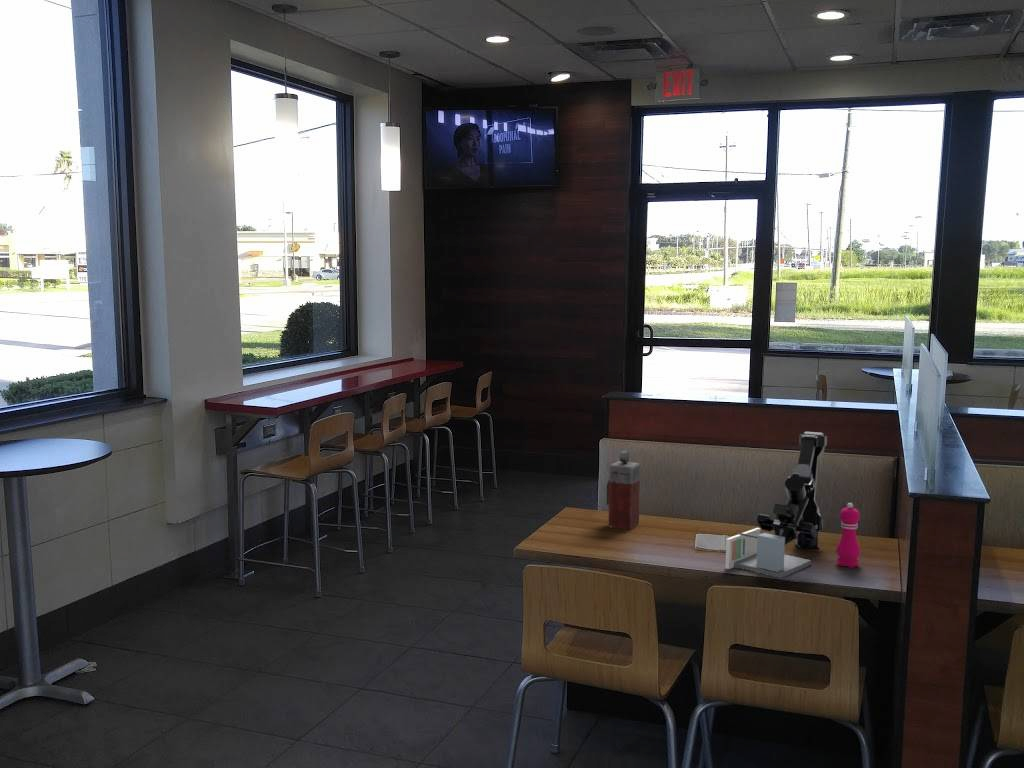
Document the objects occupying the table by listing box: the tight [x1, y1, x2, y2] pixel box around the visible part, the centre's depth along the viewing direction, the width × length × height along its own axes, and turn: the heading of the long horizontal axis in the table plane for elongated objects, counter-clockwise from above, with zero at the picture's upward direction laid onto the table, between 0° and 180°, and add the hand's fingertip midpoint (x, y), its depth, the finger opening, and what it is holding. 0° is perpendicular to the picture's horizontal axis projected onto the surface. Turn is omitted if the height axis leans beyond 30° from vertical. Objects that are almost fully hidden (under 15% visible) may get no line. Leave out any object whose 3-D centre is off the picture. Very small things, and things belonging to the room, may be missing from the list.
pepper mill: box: [835, 502, 862, 568], centre depth 284 cm, size 7×7×20 cm
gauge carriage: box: [738, 532, 786, 572], centre depth 278 cm, size 5×14×10 cm, turn 45°
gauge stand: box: [725, 527, 812, 579], centre depth 282 cm, size 22×17×10 cm
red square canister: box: [606, 450, 641, 530], centre depth 332 cm, size 9×11×28 cm
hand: (776, 549), depth 277 cm, fingers closed
